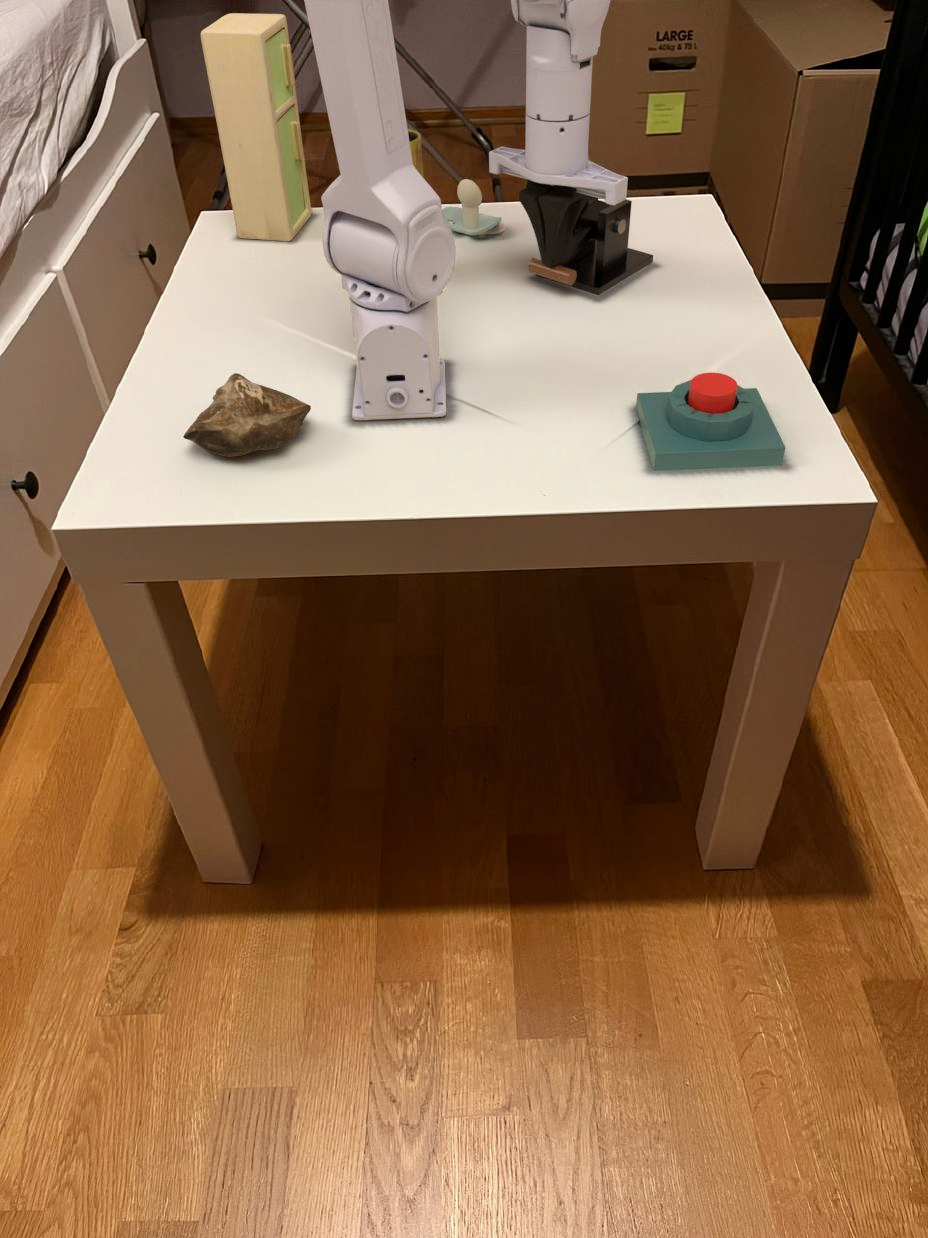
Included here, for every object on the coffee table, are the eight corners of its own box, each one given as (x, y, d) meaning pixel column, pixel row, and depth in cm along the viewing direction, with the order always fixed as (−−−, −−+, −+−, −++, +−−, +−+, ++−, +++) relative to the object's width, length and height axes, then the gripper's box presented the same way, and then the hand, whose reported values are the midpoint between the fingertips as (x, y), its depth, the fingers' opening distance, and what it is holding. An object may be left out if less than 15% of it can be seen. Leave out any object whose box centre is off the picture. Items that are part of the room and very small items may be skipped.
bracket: (598, 299, 98) (603, 226, 93) (535, 279, 102) (536, 208, 97) (652, 265, 103) (660, 195, 98) (590, 247, 107) (594, 178, 102)
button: (739, 414, 76) (742, 394, 75) (692, 416, 76) (695, 396, 75) (728, 390, 78) (731, 371, 77) (683, 392, 78) (686, 372, 77)
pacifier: (464, 218, 115) (434, 234, 111) (463, 162, 111) (432, 177, 107) (517, 231, 112) (488, 247, 108) (518, 173, 107) (488, 189, 104)
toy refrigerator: (297, 242, 111) (266, 31, 96) (236, 239, 112) (197, 30, 98) (319, 215, 116) (292, 13, 102) (261, 212, 118) (226, 12, 103)
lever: (570, 292, 96) (566, 272, 94) (530, 278, 99) (525, 259, 97) (627, 226, 99) (624, 206, 97) (586, 215, 101) (583, 195, 99)
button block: (781, 466, 76) (790, 427, 74) (653, 471, 76) (658, 432, 74) (753, 405, 82) (760, 368, 80) (635, 410, 82) (639, 373, 80)
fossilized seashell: (177, 455, 75) (308, 462, 77) (178, 366, 74) (311, 376, 76) (189, 451, 83) (309, 459, 84) (190, 371, 81) (311, 380, 83)
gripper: (651, 114, 85) (637, 266, 95) (521, 87, 92) (520, 231, 102) (605, 136, 81) (595, 291, 91) (473, 106, 89) (476, 253, 98)
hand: (553, 261), depth 96 cm, fingers closed, pressing on lever
